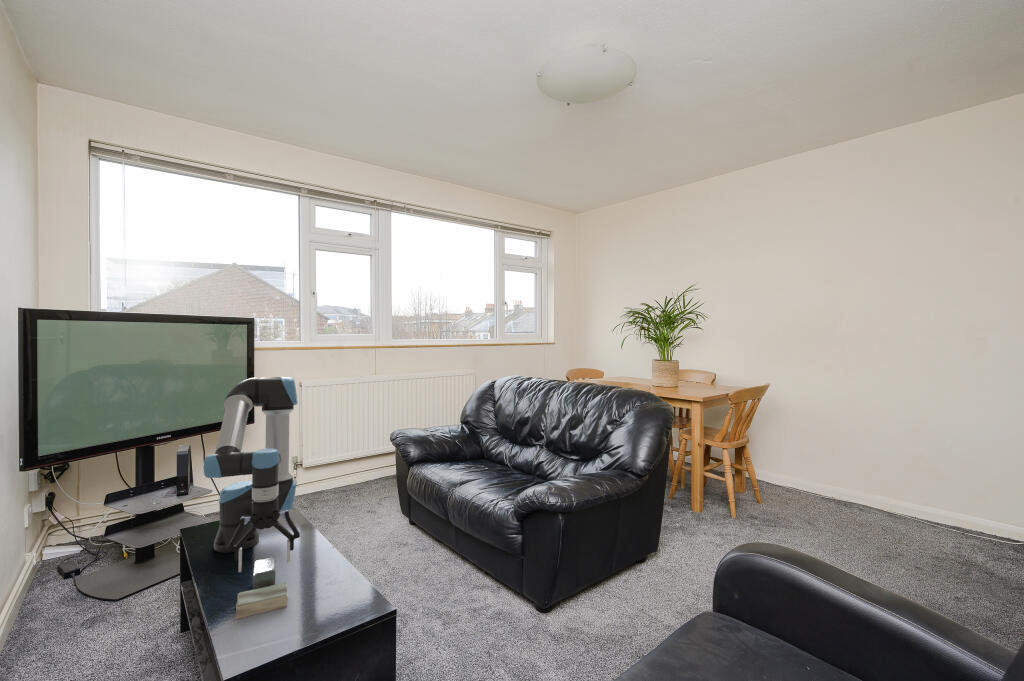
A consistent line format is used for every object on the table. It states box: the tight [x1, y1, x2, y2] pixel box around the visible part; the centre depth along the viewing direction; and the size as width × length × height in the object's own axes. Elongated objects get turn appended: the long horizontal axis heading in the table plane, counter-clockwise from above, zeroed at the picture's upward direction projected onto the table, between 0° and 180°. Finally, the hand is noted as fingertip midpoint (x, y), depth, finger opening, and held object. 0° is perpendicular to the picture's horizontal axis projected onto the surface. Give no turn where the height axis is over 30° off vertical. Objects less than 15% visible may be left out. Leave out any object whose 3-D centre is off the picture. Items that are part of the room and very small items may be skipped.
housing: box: [252, 556, 276, 590], centre depth 146 cm, size 10×6×7 cm, turn 27°
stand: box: [235, 582, 288, 619], centre depth 136 cm, size 8×13×4 cm, turn 118°
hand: (264, 565), depth 146 cm, fingers open, 13 cm apart
